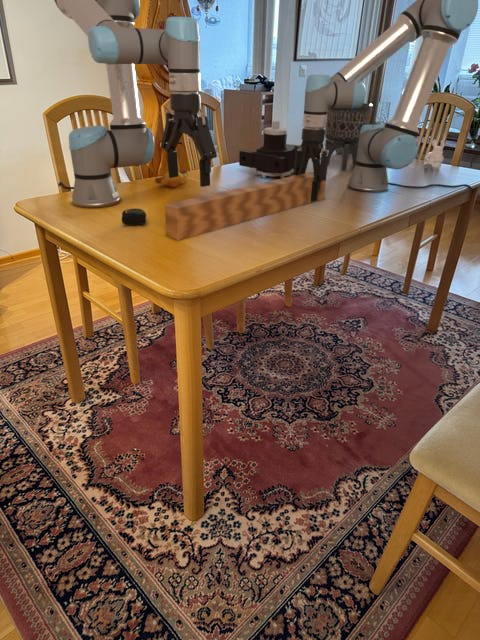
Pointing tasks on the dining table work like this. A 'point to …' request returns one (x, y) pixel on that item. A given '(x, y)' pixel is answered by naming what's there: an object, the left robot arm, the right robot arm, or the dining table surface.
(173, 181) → the toy
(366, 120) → the planter
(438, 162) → the figurine
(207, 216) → the beam
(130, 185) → the dining table surface
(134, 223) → the tape measure
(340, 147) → the rock
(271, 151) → the mechanical component
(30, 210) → the dining table surface
